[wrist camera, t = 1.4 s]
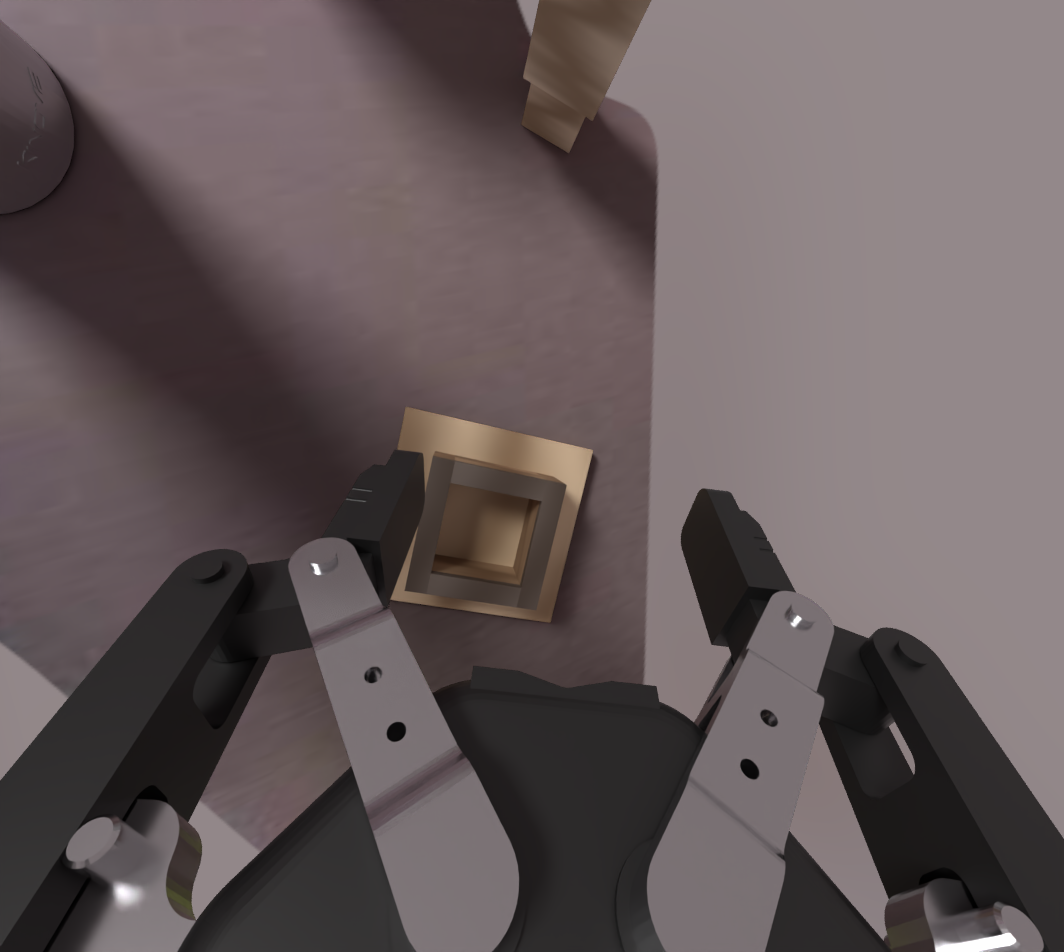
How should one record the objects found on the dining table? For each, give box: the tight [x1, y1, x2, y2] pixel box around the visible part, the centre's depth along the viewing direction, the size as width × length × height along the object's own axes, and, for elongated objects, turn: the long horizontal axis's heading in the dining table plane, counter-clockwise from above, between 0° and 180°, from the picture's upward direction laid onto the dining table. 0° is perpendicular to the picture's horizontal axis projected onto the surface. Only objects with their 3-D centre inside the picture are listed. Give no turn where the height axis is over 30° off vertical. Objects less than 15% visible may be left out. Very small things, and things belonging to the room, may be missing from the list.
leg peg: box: [521, 0, 651, 153], centre depth 20 cm, size 4×4×13 cm
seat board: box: [390, 407, 593, 623], centre depth 27 cm, size 12×12×4 cm
